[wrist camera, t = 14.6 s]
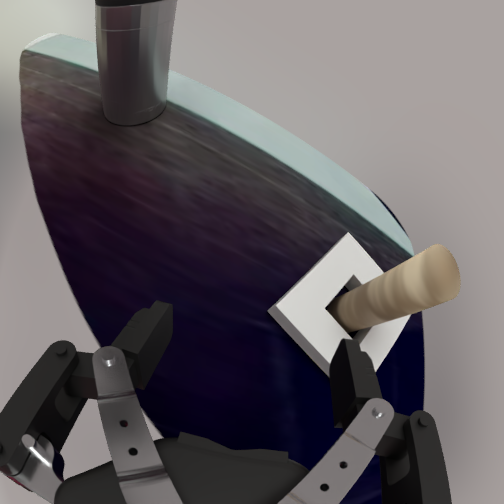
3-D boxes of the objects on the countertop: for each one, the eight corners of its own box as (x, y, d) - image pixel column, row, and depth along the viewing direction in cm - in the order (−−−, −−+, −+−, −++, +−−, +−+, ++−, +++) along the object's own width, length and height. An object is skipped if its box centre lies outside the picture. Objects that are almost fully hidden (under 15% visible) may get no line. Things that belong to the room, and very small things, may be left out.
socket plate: (267, 311, 26) (275, 305, 24) (337, 241, 31) (348, 232, 29) (345, 393, 24) (359, 394, 22) (399, 314, 30) (413, 310, 27)
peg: (319, 314, 27) (420, 267, 15) (341, 289, 29) (436, 233, 17) (344, 341, 27) (451, 311, 14) (363, 315, 28) (464, 274, 16)
